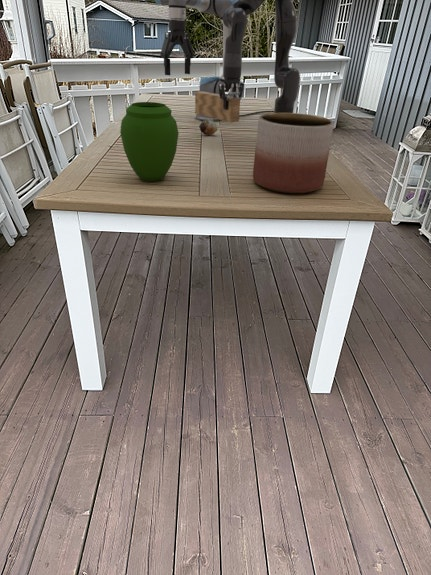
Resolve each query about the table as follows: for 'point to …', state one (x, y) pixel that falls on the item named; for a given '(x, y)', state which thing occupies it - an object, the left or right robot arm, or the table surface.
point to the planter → (292, 152)
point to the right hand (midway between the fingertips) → (230, 108)
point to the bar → (216, 106)
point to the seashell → (208, 127)
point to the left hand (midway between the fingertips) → (177, 74)
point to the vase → (149, 139)
